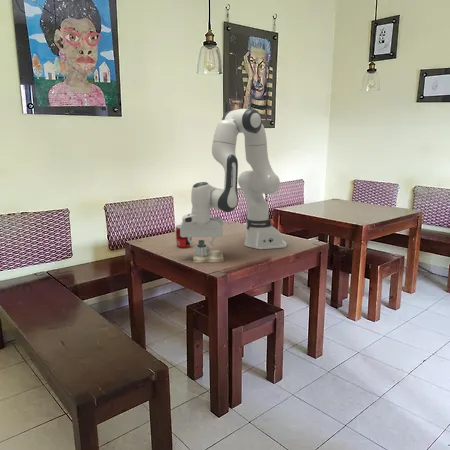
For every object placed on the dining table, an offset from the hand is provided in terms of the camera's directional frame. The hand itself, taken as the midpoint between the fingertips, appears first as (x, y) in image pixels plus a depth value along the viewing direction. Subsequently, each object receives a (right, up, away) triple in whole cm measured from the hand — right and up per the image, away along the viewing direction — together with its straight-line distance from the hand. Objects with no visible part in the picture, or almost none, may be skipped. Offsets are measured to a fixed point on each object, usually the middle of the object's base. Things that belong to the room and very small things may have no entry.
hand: (201, 245), depth 198 cm
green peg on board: (+3, -6, +1) cm, 7 cm away
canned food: (-10, -2, +21) cm, 24 cm away
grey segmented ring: (0, -5, +1) cm, 5 cm away
